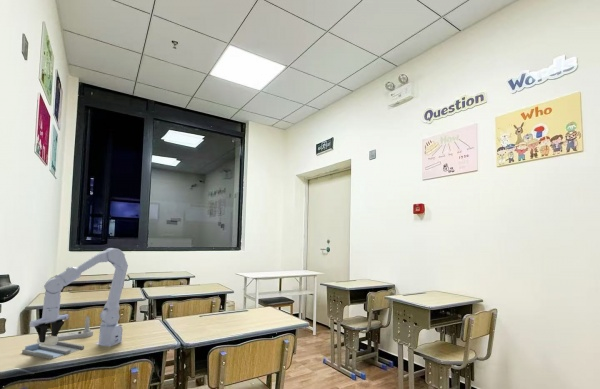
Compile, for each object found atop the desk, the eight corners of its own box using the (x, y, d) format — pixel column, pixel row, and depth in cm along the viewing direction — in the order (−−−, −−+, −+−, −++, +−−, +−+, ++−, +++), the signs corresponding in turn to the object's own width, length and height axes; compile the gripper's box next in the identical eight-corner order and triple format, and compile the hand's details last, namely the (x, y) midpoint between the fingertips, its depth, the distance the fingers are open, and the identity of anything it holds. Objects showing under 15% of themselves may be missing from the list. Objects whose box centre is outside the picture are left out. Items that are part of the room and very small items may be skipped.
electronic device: (57, 319, 161) (93, 314, 169) (56, 340, 160) (92, 334, 168) (56, 321, 156) (94, 317, 164) (55, 343, 155) (92, 337, 163)
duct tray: (83, 349, 145) (84, 342, 146) (50, 360, 132) (51, 353, 133) (56, 344, 152) (57, 337, 152) (21, 354, 139) (22, 347, 139)
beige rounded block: (57, 345, 140) (59, 335, 140) (47, 347, 136) (49, 337, 137) (46, 343, 142) (48, 333, 143) (36, 345, 138) (38, 335, 139)
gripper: (62, 303, 149) (59, 334, 147) (26, 309, 136) (22, 344, 134) (73, 304, 147) (70, 336, 145) (37, 311, 133) (33, 346, 131)
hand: (47, 340), depth 139 cm, fingers closed on beige rounded block, 4 cm apart
